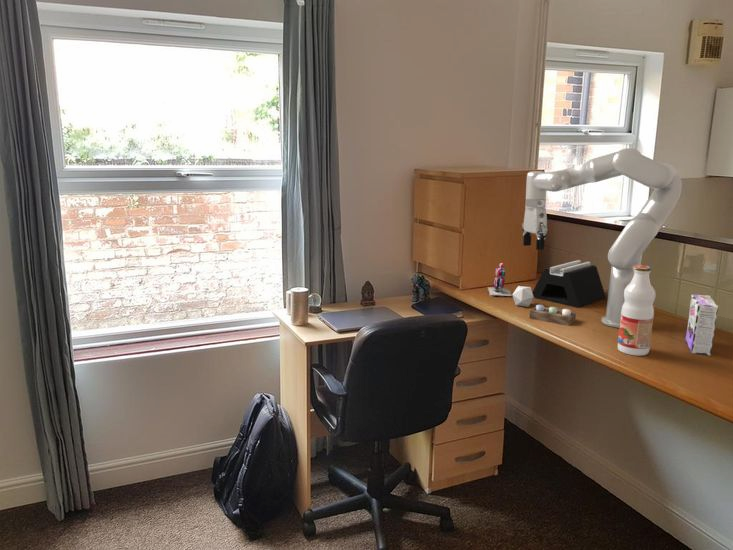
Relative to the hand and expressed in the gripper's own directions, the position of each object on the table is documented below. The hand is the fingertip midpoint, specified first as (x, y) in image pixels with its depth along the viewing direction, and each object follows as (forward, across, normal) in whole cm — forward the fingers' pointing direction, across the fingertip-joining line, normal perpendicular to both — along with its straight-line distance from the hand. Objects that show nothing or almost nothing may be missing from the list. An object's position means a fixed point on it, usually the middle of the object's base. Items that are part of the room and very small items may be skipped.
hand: (533, 247), depth 227 cm
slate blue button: (+25, -10, +2) cm, 27 cm away
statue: (+25, +25, +1) cm, 36 cm away
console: (+26, -14, -2) cm, 29 cm away
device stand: (+26, +12, -25) cm, 38 cm away
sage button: (+26, -14, -2) cm, 29 cm away
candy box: (+26, -53, -31) cm, 67 cm away
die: (+25, +6, 0) cm, 26 cm away
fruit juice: (+26, -51, -8) cm, 58 cm away
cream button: (+26, -18, -5) cm, 31 cm away
